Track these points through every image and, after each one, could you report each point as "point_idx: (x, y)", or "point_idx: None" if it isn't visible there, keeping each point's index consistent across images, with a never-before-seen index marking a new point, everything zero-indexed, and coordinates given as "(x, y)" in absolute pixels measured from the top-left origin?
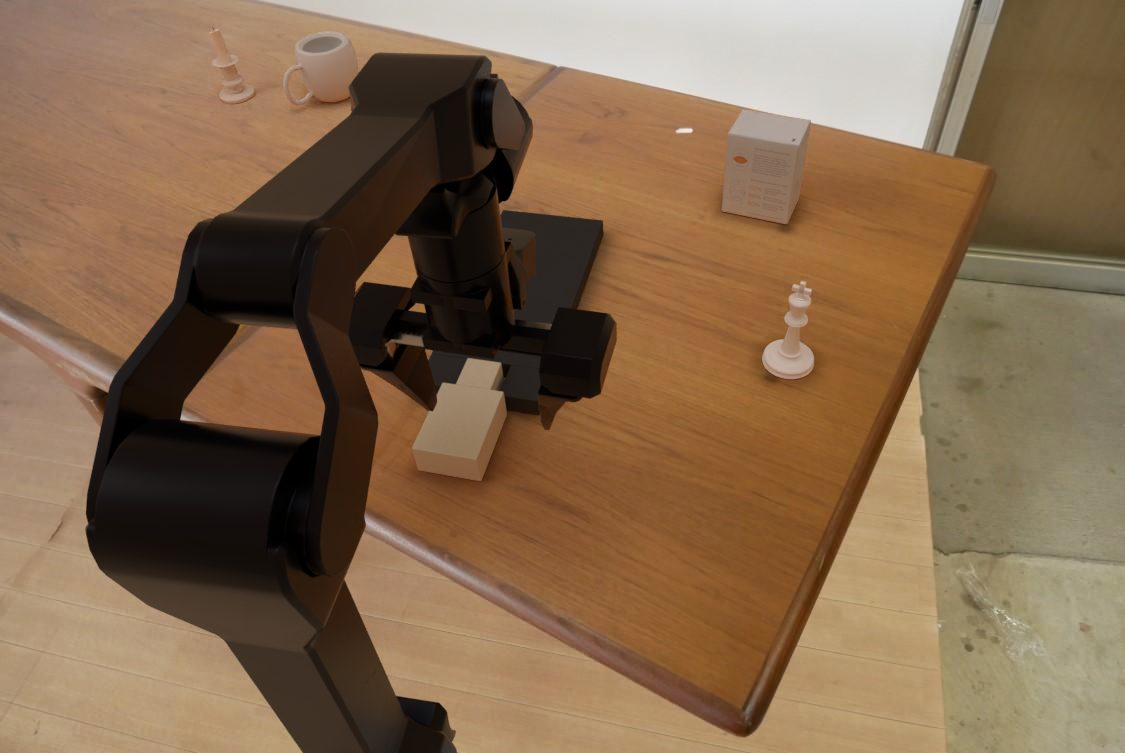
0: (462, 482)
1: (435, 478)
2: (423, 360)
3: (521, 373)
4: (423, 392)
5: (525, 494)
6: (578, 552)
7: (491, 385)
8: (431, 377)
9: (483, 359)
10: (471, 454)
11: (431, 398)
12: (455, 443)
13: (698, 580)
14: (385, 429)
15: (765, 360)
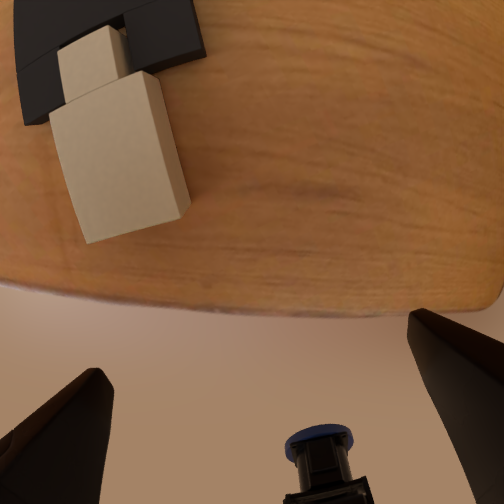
0: None
1: None
2: (31, 479)
3: (147, 16)
4: (92, 458)
5: (261, 194)
6: (362, 244)
7: (116, 71)
8: (60, 421)
9: (79, 31)
10: (167, 213)
11: (99, 412)
12: (132, 205)
13: (472, 224)
14: (40, 193)
15: None
